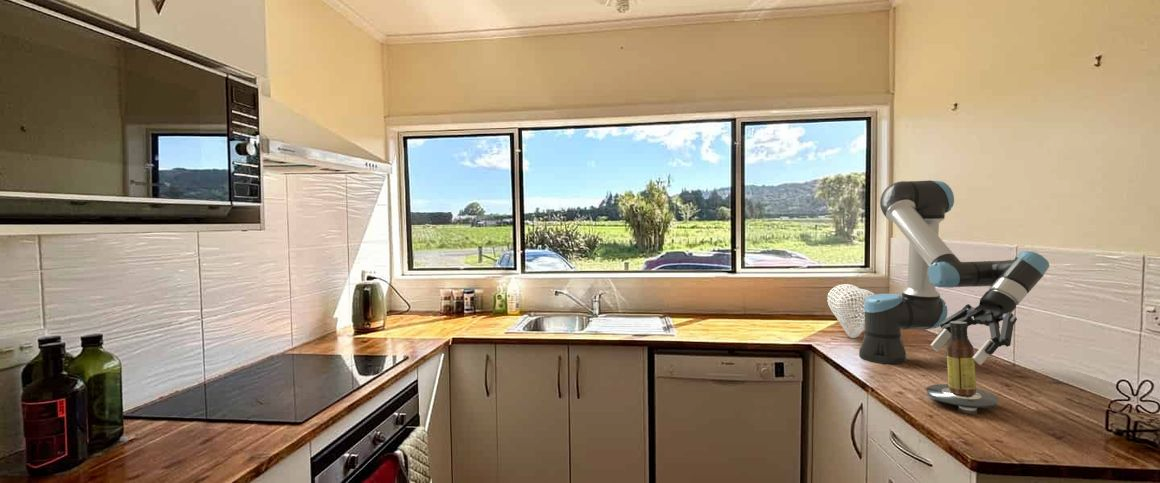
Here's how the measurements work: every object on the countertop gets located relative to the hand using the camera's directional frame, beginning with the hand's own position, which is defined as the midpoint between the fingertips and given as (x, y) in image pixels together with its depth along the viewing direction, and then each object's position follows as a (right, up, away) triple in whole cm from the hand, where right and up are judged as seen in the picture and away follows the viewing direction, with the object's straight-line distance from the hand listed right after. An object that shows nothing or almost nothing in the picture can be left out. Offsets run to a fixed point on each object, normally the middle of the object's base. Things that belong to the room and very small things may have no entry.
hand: (954, 354), depth 143 cm
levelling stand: (+3, -14, +1) cm, 14 cm away
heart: (+13, -10, +78) cm, 80 cm away
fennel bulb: (+32, -11, +44) cm, 55 cm away
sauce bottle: (+3, -11, +1) cm, 11 cm away
